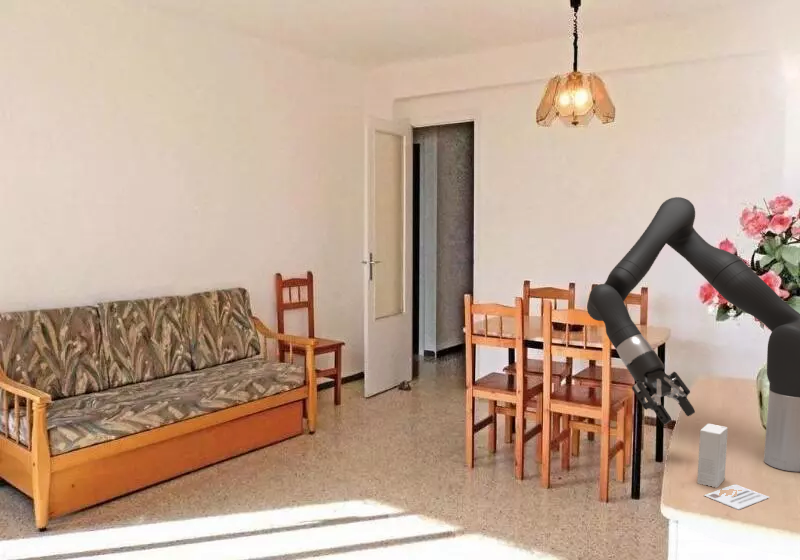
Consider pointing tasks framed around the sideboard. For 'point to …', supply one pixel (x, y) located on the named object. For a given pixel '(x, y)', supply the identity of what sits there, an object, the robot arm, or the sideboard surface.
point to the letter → (737, 497)
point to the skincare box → (712, 455)
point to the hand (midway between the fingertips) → (679, 418)
